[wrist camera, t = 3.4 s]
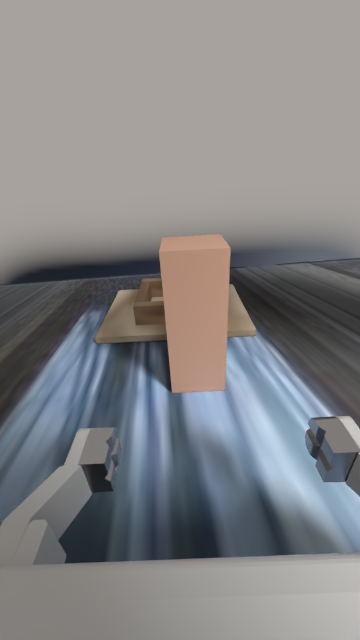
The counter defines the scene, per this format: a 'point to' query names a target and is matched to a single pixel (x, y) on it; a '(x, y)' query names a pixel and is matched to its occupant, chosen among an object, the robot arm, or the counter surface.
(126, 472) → the counter surface
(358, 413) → the counter surface
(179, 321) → the block
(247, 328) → the housing
